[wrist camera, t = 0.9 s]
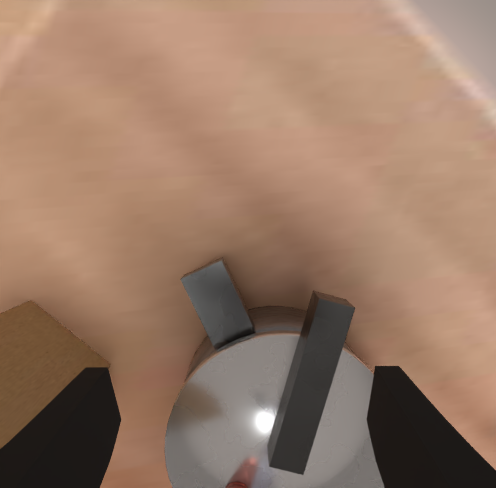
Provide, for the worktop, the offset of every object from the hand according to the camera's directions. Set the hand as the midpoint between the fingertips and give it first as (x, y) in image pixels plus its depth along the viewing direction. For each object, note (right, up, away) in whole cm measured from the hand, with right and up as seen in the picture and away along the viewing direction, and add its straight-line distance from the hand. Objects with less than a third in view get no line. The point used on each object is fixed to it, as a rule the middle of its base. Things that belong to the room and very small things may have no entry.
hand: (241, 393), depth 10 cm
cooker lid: (+3, -7, +13) cm, 15 cm away
